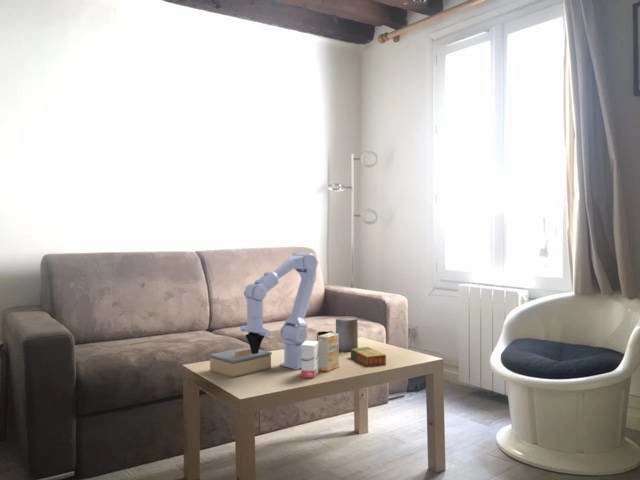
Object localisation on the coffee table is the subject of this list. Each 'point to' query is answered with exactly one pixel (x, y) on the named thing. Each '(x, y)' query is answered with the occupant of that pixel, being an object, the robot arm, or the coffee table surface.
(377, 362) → the carton
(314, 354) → the ink box
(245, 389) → the coffee table surface
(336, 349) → the supplement box
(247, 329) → the robot arm
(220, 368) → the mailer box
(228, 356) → the lid
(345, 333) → the pillar candle
